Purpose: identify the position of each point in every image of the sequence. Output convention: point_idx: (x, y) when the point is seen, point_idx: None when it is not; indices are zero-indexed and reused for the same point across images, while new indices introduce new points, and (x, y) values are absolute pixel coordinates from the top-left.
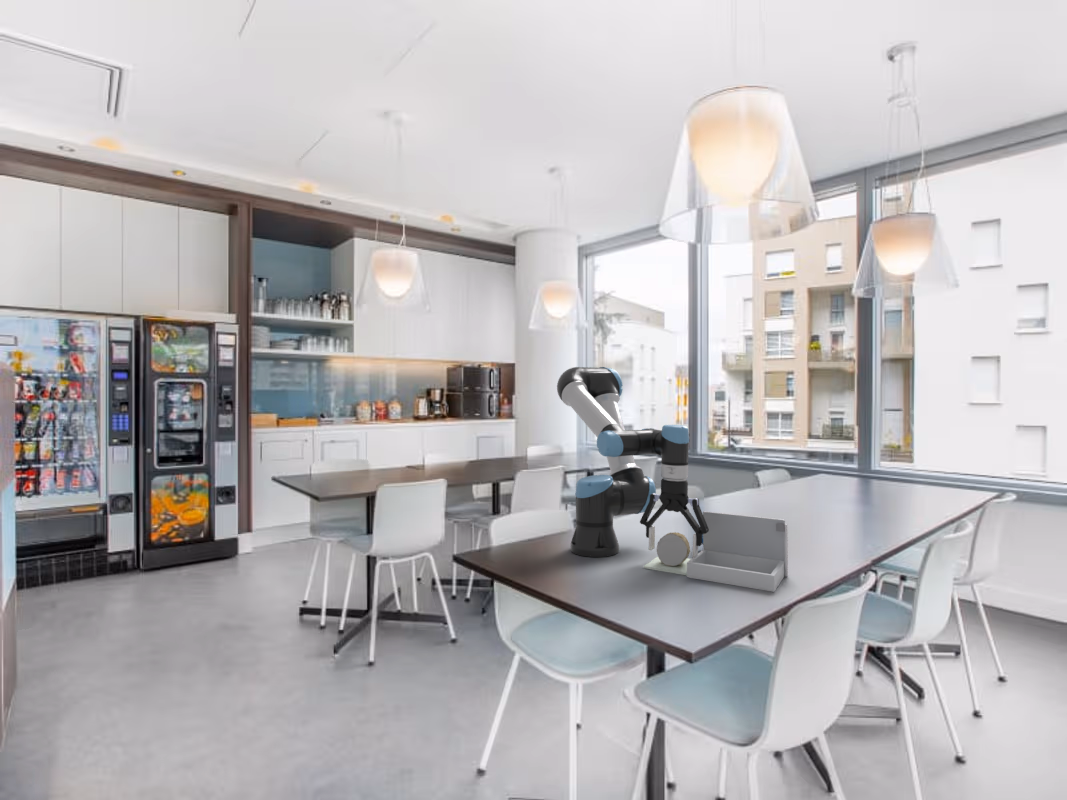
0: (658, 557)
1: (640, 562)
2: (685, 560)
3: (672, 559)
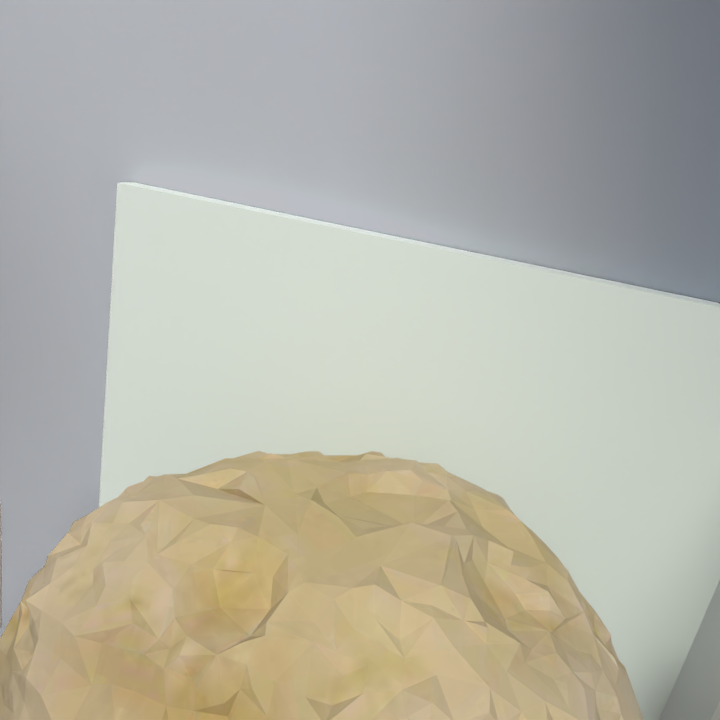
0: (132, 367)
1: (4, 530)
2: (517, 405)
3: None
